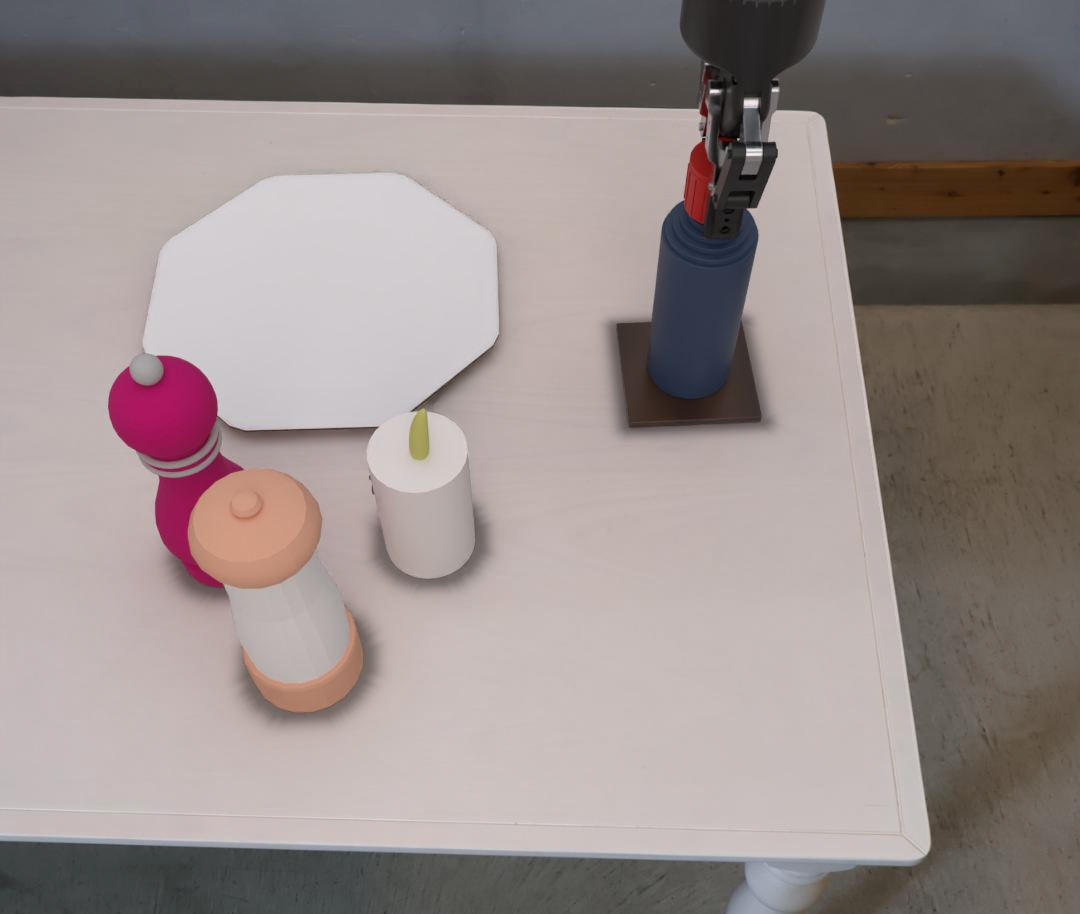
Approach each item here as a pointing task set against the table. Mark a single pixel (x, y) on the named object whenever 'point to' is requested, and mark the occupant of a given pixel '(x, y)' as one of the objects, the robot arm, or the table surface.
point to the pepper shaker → (278, 587)
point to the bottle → (698, 304)
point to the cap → (698, 182)
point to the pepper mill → (172, 441)
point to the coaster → (666, 410)
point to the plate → (326, 300)
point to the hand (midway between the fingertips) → (716, 209)
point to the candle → (423, 493)
